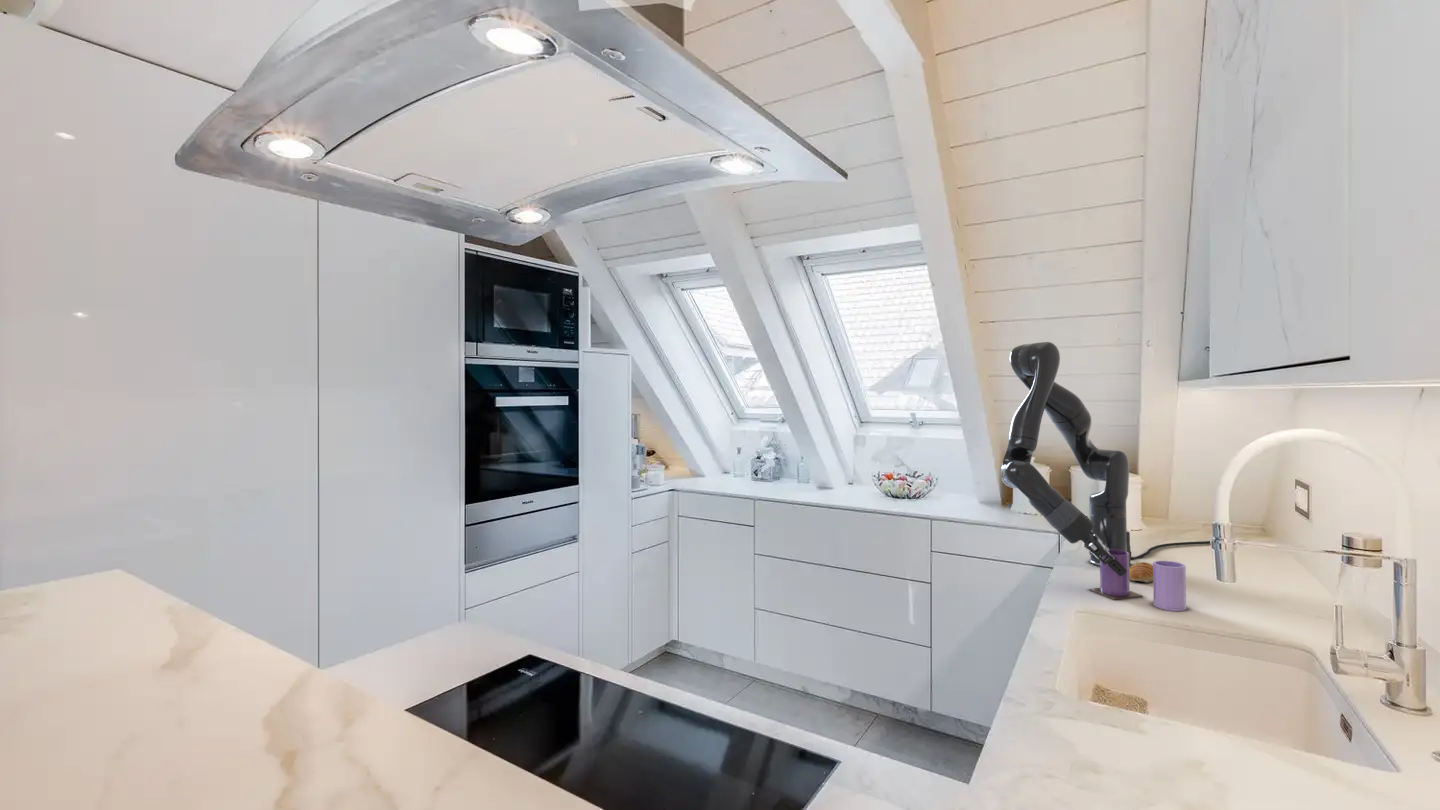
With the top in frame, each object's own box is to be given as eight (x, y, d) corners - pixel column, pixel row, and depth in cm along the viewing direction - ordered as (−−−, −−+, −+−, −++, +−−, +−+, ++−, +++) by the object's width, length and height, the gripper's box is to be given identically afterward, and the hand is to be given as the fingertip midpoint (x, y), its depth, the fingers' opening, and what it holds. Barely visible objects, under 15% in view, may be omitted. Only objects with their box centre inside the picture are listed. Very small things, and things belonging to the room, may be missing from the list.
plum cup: (1115, 587, 165) (1115, 548, 165) (1135, 594, 159) (1135, 554, 159) (1094, 589, 164) (1094, 550, 164) (1114, 596, 158) (1113, 555, 158)
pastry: (1154, 585, 167) (1153, 571, 167) (1123, 581, 171) (1123, 567, 171) (1159, 577, 174) (1159, 563, 174) (1130, 573, 179) (1129, 559, 179)
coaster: (1116, 587, 166) (1116, 586, 166) (1142, 597, 158) (1142, 595, 158) (1089, 590, 165) (1089, 588, 165) (1114, 599, 157) (1114, 598, 157)
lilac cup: (1169, 601, 155) (1168, 559, 155) (1192, 609, 149) (1192, 566, 149) (1147, 603, 154) (1146, 561, 153) (1170, 612, 147) (1169, 568, 147)
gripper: (1082, 515, 158) (1138, 566, 153) (1077, 505, 171) (1129, 552, 166) (1058, 536, 160) (1113, 586, 156) (1055, 524, 173) (1105, 571, 169)
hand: (1121, 569), depth 161 cm, fingers open, 8 cm apart
